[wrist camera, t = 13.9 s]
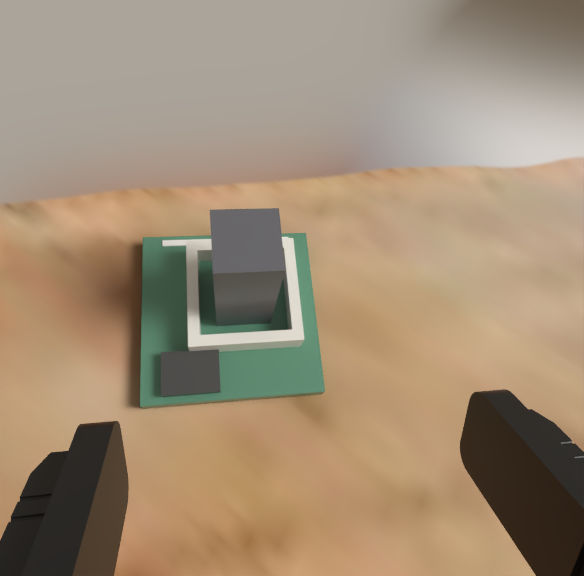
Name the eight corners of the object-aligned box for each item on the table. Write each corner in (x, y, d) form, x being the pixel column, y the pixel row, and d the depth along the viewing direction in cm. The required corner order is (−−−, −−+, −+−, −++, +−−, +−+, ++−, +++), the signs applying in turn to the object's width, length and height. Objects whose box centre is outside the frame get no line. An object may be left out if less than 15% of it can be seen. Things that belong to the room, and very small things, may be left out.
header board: (142, 408, 33) (134, 402, 30) (145, 244, 38) (138, 225, 35) (321, 394, 35) (330, 386, 32) (303, 239, 40) (309, 220, 37)
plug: (216, 326, 35) (212, 273, 25) (214, 269, 36) (209, 200, 27) (270, 323, 35) (285, 270, 26) (265, 267, 37) (277, 199, 28)
